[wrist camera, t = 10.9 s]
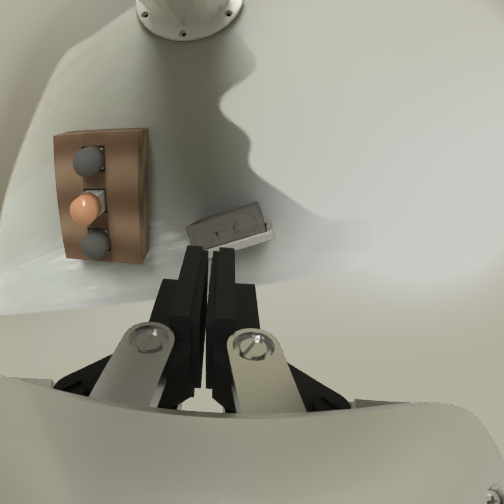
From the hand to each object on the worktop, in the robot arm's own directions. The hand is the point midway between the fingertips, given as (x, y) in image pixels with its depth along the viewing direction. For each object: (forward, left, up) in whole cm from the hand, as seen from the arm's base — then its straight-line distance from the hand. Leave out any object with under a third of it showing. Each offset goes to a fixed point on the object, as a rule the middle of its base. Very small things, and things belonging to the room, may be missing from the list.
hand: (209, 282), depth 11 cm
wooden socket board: (+5, -15, -27) cm, 31 cm away
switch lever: (0, -15, -27) cm, 31 cm away
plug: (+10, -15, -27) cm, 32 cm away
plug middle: (+5, -15, -25) cm, 30 cm away
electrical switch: (+8, +1, -27) cm, 29 cm away
